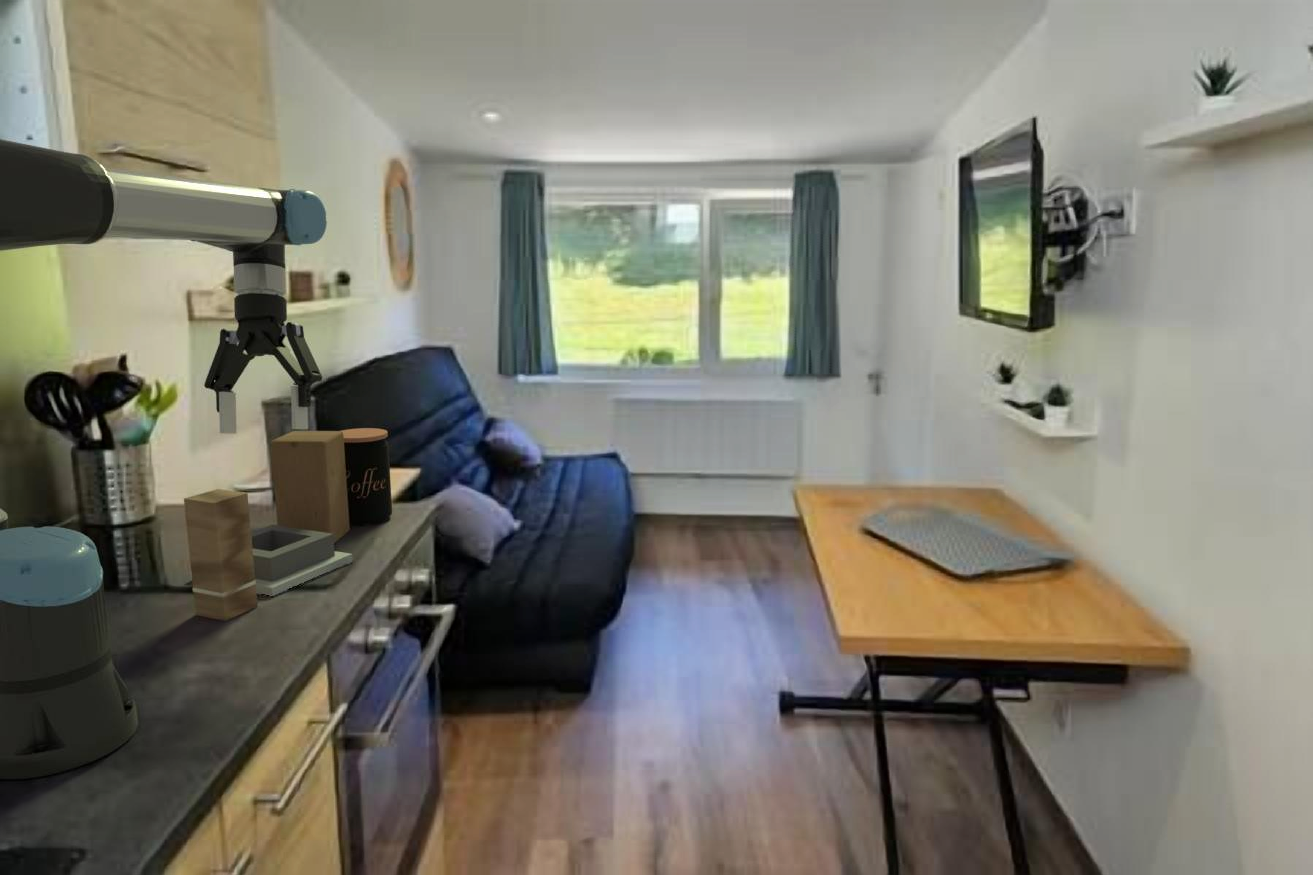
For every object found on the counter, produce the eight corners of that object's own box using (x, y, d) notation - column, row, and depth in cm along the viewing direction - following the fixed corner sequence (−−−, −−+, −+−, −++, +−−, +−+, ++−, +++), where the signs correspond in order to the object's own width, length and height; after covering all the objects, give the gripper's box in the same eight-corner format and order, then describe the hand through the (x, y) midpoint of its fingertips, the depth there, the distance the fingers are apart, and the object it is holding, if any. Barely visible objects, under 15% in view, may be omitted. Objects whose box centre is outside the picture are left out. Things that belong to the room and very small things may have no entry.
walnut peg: (225, 621, 132) (213, 503, 129) (195, 614, 134) (183, 498, 131) (258, 606, 138) (247, 493, 134) (228, 600, 140) (218, 488, 136)
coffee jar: (333, 527, 178) (327, 438, 174) (343, 513, 188) (337, 428, 185) (389, 525, 180) (384, 437, 176) (395, 510, 190) (391, 427, 186)
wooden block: (331, 546, 166) (324, 441, 162) (278, 546, 166) (269, 440, 162) (350, 530, 176) (344, 430, 172) (300, 530, 176) (292, 430, 172)
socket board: (272, 596, 142) (270, 563, 141) (190, 580, 149) (187, 548, 147) (352, 562, 158) (350, 532, 157) (274, 549, 165) (272, 520, 164)
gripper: (343, 292, 141) (346, 427, 140) (214, 307, 148) (217, 435, 147) (311, 283, 133) (314, 426, 133) (177, 299, 141) (180, 434, 140)
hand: (263, 431), depth 140 cm, fingers open, 13 cm apart
